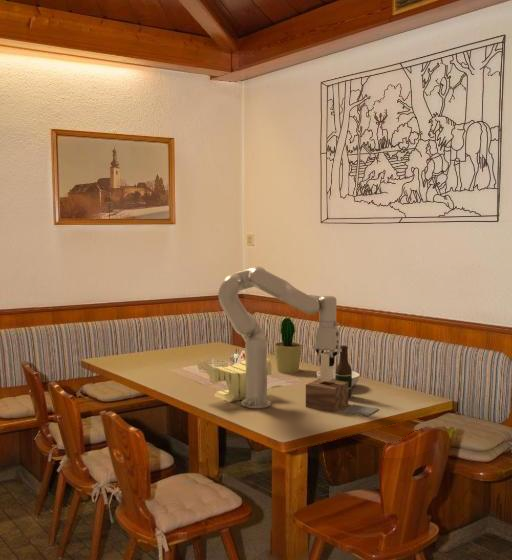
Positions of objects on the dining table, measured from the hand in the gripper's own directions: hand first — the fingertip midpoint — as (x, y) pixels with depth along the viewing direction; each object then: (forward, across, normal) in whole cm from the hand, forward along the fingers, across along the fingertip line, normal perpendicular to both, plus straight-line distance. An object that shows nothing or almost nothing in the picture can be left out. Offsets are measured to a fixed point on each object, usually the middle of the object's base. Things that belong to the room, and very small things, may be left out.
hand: (326, 364), depth 290 cm
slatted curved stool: (+19, +42, +11) cm, 47 cm away
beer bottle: (+18, 0, -17) cm, 25 cm away
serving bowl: (+19, +10, -32) cm, 38 cm away
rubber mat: (+18, -16, 0) cm, 24 cm away
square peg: (+7, 0, 0) cm, 7 cm away
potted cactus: (+19, +48, -49) cm, 71 cm away
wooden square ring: (+18, 0, 0) cm, 18 cm away
